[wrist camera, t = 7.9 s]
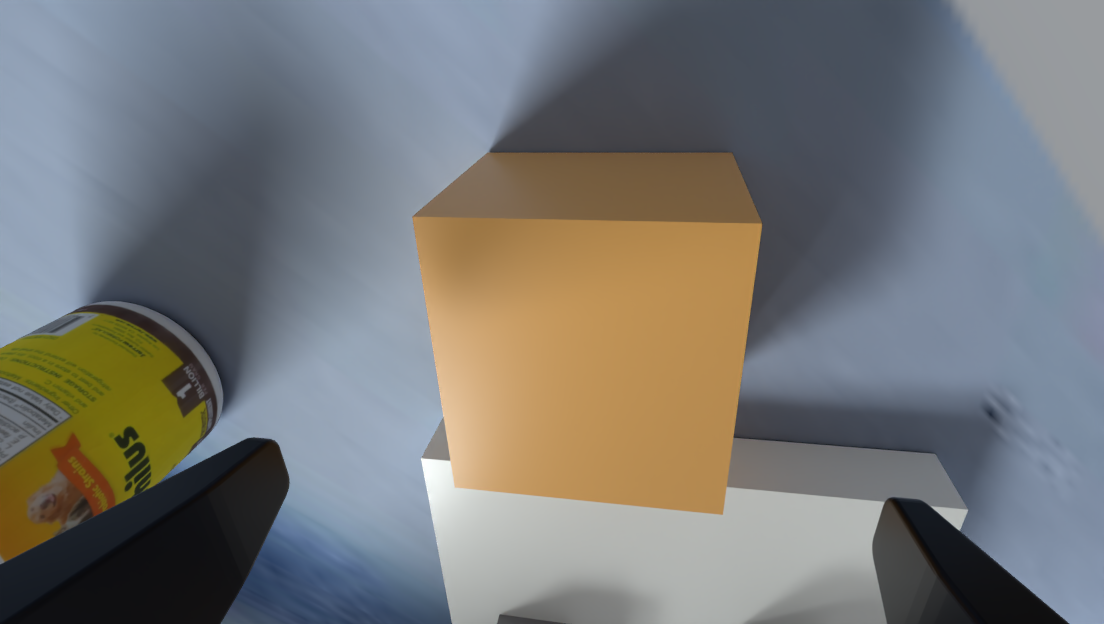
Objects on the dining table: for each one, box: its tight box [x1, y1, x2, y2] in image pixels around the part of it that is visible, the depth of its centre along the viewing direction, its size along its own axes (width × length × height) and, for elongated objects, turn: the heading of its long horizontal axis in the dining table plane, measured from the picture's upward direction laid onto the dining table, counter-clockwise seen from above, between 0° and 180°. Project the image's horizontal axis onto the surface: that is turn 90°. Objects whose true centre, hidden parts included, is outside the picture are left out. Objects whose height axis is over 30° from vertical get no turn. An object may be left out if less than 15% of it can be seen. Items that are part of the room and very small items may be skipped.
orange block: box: [412, 153, 762, 515], centre depth 13 cm, size 6×6×5 cm
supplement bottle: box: [0, 301, 223, 564], centre depth 15 cm, size 6×6×10 cm
